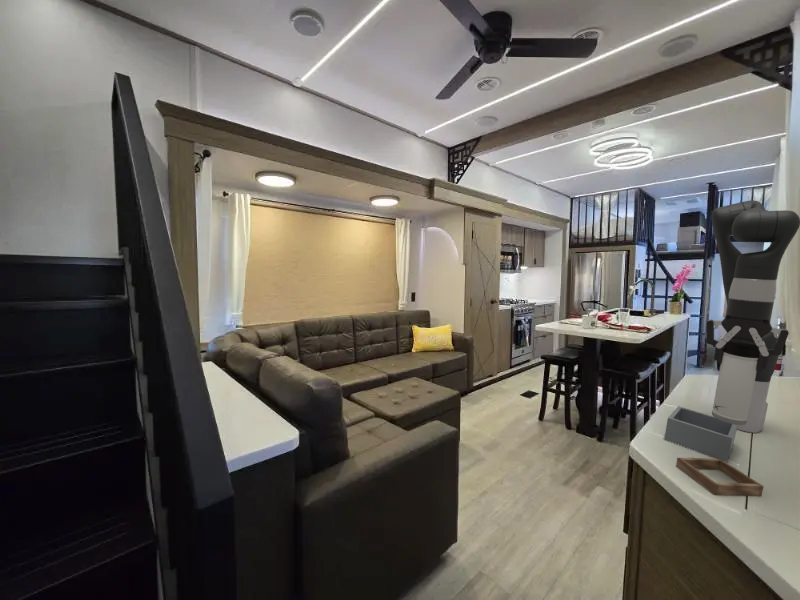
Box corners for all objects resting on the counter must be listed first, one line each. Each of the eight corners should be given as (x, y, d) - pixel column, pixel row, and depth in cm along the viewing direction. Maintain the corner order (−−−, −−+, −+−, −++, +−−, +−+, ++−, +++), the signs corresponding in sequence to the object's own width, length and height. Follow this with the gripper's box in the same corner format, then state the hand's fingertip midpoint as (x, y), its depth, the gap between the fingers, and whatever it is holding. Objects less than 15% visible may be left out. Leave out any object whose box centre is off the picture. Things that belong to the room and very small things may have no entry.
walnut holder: (718, 467, 90) (719, 458, 90) (761, 495, 80) (763, 486, 79) (675, 466, 90) (677, 457, 89) (713, 494, 79) (715, 484, 79)
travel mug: (710, 419, 84) (725, 340, 81) (712, 410, 89) (725, 336, 86) (746, 428, 80) (762, 346, 77) (746, 419, 85) (761, 341, 82)
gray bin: (674, 426, 112) (678, 405, 111) (733, 445, 102) (737, 423, 101) (664, 439, 103) (667, 417, 102) (727, 462, 93) (732, 438, 92)
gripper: (796, 300, 77) (782, 371, 80) (711, 293, 88) (701, 356, 90) (798, 303, 72) (782, 378, 75) (708, 295, 83) (697, 361, 85)
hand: (738, 366), depth 83 cm, fingers closed on travel mug, 6 cm apart
